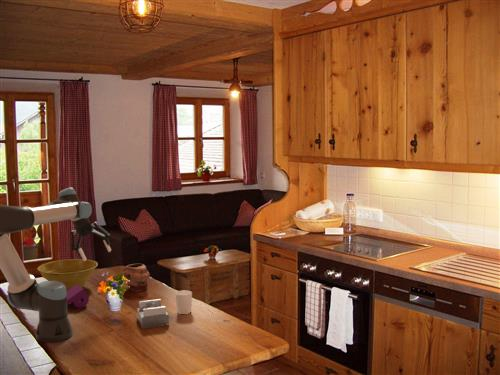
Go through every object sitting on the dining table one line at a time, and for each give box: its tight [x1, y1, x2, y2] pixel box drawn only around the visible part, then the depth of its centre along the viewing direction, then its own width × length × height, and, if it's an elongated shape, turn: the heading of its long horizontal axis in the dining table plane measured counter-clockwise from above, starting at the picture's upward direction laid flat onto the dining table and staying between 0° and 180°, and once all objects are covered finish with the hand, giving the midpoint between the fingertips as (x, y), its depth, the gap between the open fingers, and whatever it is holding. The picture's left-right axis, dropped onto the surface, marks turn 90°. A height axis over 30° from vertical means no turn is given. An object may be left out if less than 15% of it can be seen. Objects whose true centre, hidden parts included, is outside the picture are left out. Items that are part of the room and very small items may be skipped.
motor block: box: [136, 298, 170, 330], centre depth 249 cm, size 14×12×8 cm
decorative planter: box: [123, 263, 151, 292], centre depth 300 cm, size 20×12×14 cm, turn 54°
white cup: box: [175, 289, 193, 315], centre depth 261 cm, size 8×8×10 cm
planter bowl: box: [37, 258, 99, 291], centre depth 302 cm, size 32×32×13 cm
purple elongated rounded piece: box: [66, 285, 90, 309], centre depth 271 cm, size 9×8×18 cm
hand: (97, 255), depth 267 cm, fingers open, 13 cm apart
